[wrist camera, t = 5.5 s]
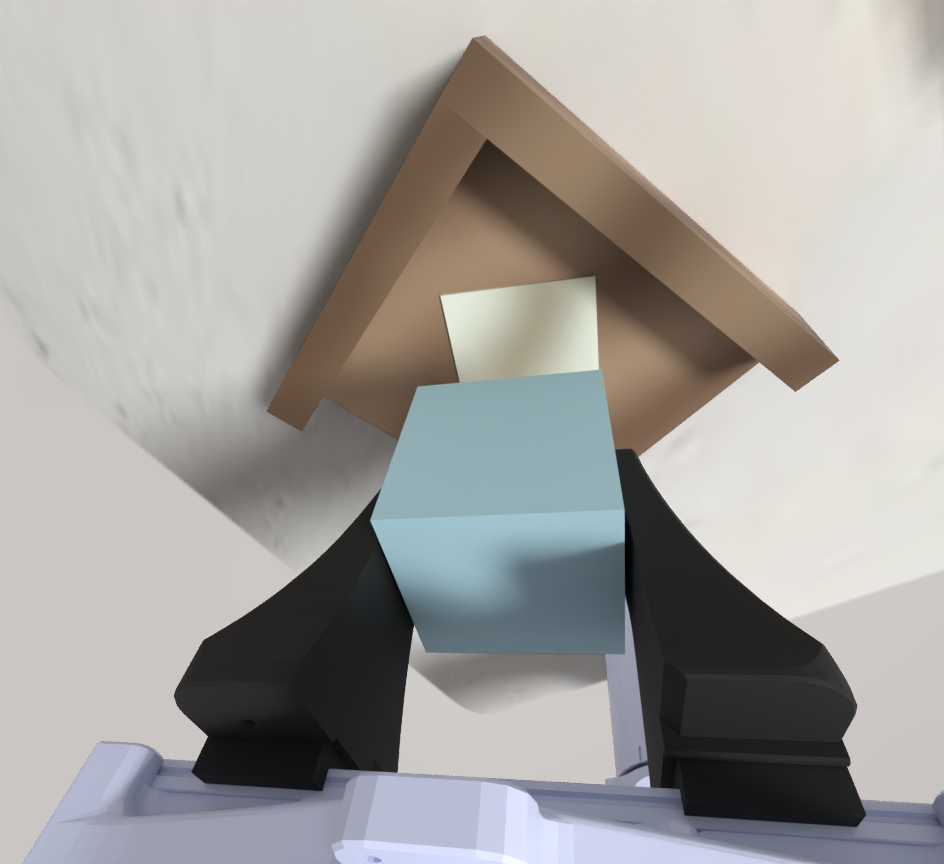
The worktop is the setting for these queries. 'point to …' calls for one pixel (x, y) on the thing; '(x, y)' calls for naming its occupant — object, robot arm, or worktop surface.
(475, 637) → the cube
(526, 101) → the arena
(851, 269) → the worktop surface
